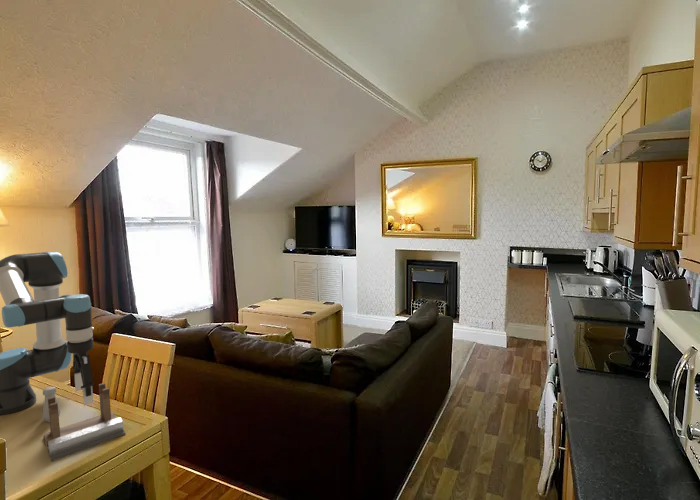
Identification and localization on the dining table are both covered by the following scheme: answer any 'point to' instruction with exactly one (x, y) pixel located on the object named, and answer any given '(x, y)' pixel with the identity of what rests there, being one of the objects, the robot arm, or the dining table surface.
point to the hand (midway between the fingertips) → (84, 396)
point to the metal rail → (84, 436)
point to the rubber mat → (87, 445)
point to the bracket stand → (105, 416)
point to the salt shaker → (47, 393)
